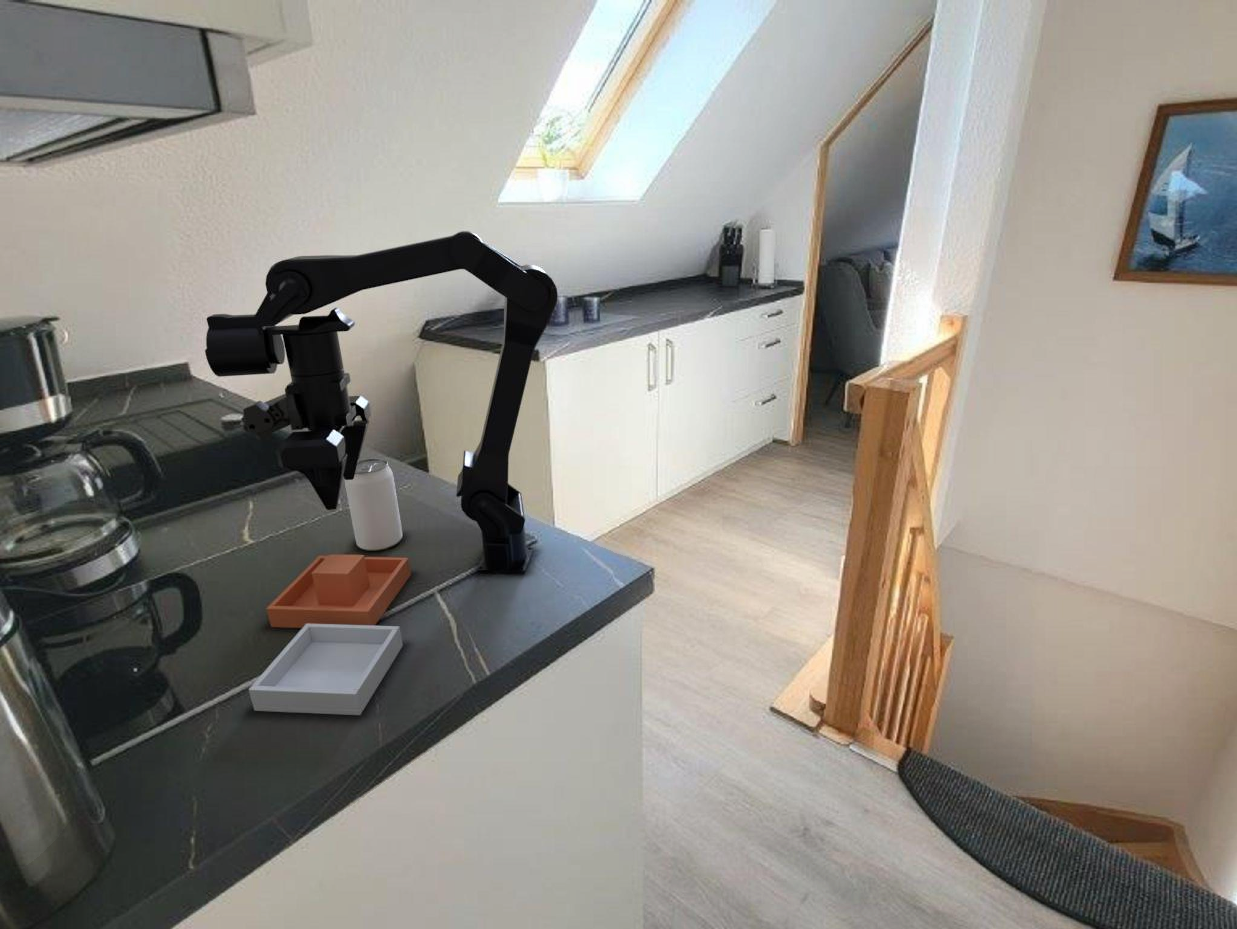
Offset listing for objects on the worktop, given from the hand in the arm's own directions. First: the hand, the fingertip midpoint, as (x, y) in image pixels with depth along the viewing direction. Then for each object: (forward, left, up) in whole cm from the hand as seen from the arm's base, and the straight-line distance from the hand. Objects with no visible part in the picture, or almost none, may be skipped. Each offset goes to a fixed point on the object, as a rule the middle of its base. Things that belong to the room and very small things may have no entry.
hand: (341, 493), depth 81 cm
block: (+5, +1, -12) cm, 13 cm away
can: (-10, -1, -12) cm, 16 cm away
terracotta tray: (+5, +1, -12) cm, 13 cm away
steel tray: (+19, +6, -12) cm, 23 cm away
